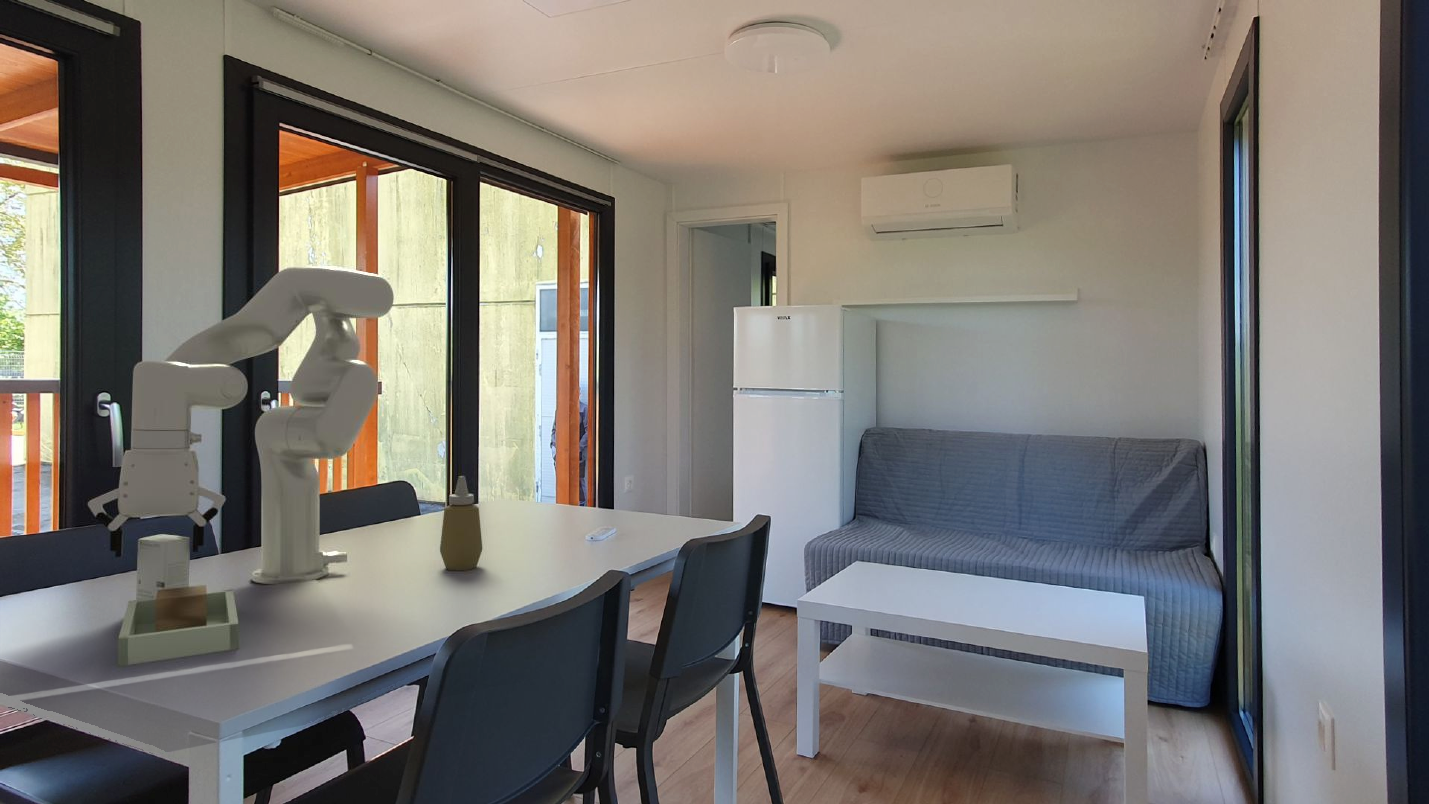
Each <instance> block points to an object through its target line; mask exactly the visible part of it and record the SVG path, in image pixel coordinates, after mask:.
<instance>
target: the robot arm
mask: <svg viewBox="0 0 1429 804" xmlns="http://www.w3.org/2000/svg"><path fill="white" fill-rule="evenodd" d="M394 297H395V296H394V292H393V288H392V286H391V285H390V283H389V282H388V281H387V280H386V279H385V278H384V277H383V276H381V275H378V274H375V273H369V272H365V271H359V270H353V269H349V268H348V269H347V268H343V267H337V266H329V265H327V266H326V265H319V266H318V265H316V266H314V265H313V266H291V267H287V268H284V269H282V270H280V271H278V272H277V273H276V274H275V275H273V277H272V278H270V280H268V281H267V283H266V284H265V285H264V286H262V288H260V290H259V291H258V292H257V293H256V294H255V295H254V296H253V297H252V298H251V299H250V300H249V301H248V302H247V303H246V304H245V305H244V306H243V307H242V308H241V309H240V310H239V311H238V312H236V313H235V314H233V315H231V316H229V317H227V318H225V319H223V320H221V321H219V322H217V323H216V324H214V325H212V326H210V327H208V328H206V329H204V330H202V331H200V332H198V333H197V334H195V335H194V336H191V337H190V338H189V339H187V340H186V341H184V342H183V343H181V344H180V345H179V346H178V347H176V349H175V350H174V351H173V352H171V354H169V356H168V357H167V358H166V359H165V360H143V361H140V362H137V363H136V364H135V365H134V367H133V371H132V395H131V396H132V397H131V398H132V399H131V402H132V403H131V405H132V406H131V431H130V432H131V433H130V449H129V450H128V449H127V450H125V452H124V454H123V457H122V462H121V468H120V475H119V483H118V484H119V485H118V488H115V489H113V490H111V491H109V492H106V493H104V494H102V495H99V496H97V497H94V498H93V499H91V500H89V501H88V502H87V506H88V508H89V509H90V511H91V512H92V514H93V515H94V517H95V519H96V520H97V521H98V522H99V523H101V524H102V525H103V526H104V527H106V528H107V529H108V530H109V531H110V535H109V537H110V539H109V543H110V544H109V552H115V553H114V554H115V558H120V557H122V556H123V554H124V551H123V550H124V528H123V527H122V525H123V524H124V523H125V522H126V521H127V520H128V519H129V518H146V517H147V518H149V517H151V518H152V517H166V516H168V517H170V516H171V517H172V516H186V515H187V516H188V517H190V519H191V520H192V521H194V525H193V526H192V552H193V553H199V547H203V546H204V543H205V542H204V541H205V540H204V538H205V525H207V524H208V523H209V522H210V521H211V520H212V519H213V518H214V517H215V516H217V515H218V513H219V511H220V509H221V508H222V507H223V505H224V503H225V502H226V500H227V499H226V496H224V495H223V494H221V493H217V492H216V491H213V490H211V489H208V488H206V487H204V486H201V485H200V473H199V472H200V470H199V460H198V455H197V451H196V450H197V449H191V446H193V444H194V445H195V444H197V443H200V444H201V443H202V434H201V433H200V434H199V433H198V434H197V433H196V432H195V433H194V432H192V430H191V429H192V409H200V410H201V409H202V410H225V409H226V410H227V409H229V408H232V407H233V408H234V406H237V405H238V404H240V403H241V402H242V401H243V400H244V398H246V395H247V393H248V385H249V384H248V380H247V378H246V376H245V375H244V373H243V372H242V371H241V370H239V369H238V368H237V367H235V366H233V365H231V364H233V363H236V362H239V361H242V360H245V359H249V358H252V357H256V356H257V357H258V356H259V355H263V354H265V353H269V352H270V351H274V350H276V349H277V348H279V347H280V346H282V345H283V344H284V342H285V341H286V340H287V339H288V337H290V335H291V334H292V333H293V332H294V331H295V330H296V329H297V327H298V326H299V325H300V324H301V323H302V322H303V321H304V320H305V319H306V318H307V317H308V316H309V315H311V314H312V317H313V321H314V326H315V327H314V328H315V336H314V339H313V340H312V343H311V344H310V347H309V349H308V350H307V352H306V353H305V356H304V357H303V359H302V360H301V362H300V364H299V366H298V367H297V370H296V371H295V372H294V375H293V377H292V379H291V382H290V385H289V394H290V397H291V399H292V400H293V401H294V402H295V403H296V404H298V405H282V406H281V405H280V406H276V407H272V408H270V409H267V410H266V411H265V412H263V413H262V414H261V416H259V418H258V420H257V421H256V424H255V429H254V437H255V438H254V439H255V445H256V448H257V449H256V450H257V454H258V458H259V463H260V473H261V474H260V475H261V505H260V506H261V510H260V512H261V514H260V515H261V518H260V519H261V525H260V527H261V535H260V536H261V558H260V559H261V568H258V569H256V570H254V571H253V572H251V580H252V581H253V582H254V583H257V584H258V583H259V584H264V585H280V584H290V583H300V582H309V581H315V580H317V579H321V578H324V577H325V576H327V575H328V574H329V570H330V568H329V564H339V563H340V564H341V563H347V562H348V554H347V552H346V551H344V552H338V551H331V552H325V551H323V549H322V548H321V546H320V492H321V484H320V483H321V482H320V477H319V472H318V471H317V467H316V465H315V464H314V460H335V459H339V458H342V457H343V456H345V455H346V454H347V453H348V452H349V451H350V450H351V449H352V447H353V445H354V444H355V443H356V440H357V439H358V437H359V435H360V432H361V431H362V429H363V426H364V425H365V423H366V421H367V418H368V417H369V415H370V413H371V410H372V409H373V408H374V407H373V406H374V404H375V402H376V399H377V395H378V388H379V384H378V383H379V382H378V378H377V377H378V376H377V375H376V372H375V370H374V369H373V368H372V367H371V365H369V364H368V363H366V362H364V361H361V360H357V359H358V357H359V356H360V351H361V344H360V339H359V337H358V335H357V332H356V331H355V329H354V326H353V324H352V321H351V319H379V318H381V317H383V316H385V315H387V314H388V313H389V312H390V311H391V309H392V307H393V304H394ZM200 496H201V497H203V498H205V499H208V500H210V501H212V504H211V506H210V508H209V509H207V510H206V511H205V512H204V513H203V514H202V513H201V512H200V510H199V509H198V507H199V503H200ZM114 500H117V509H118V514H117V515H116V516H115V517H113V516H111V515H109V514H108V513H107V512H106V511H105V509H104V508H103V505H104V504H108V503H110V502H111V501H114Z"/></svg>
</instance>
